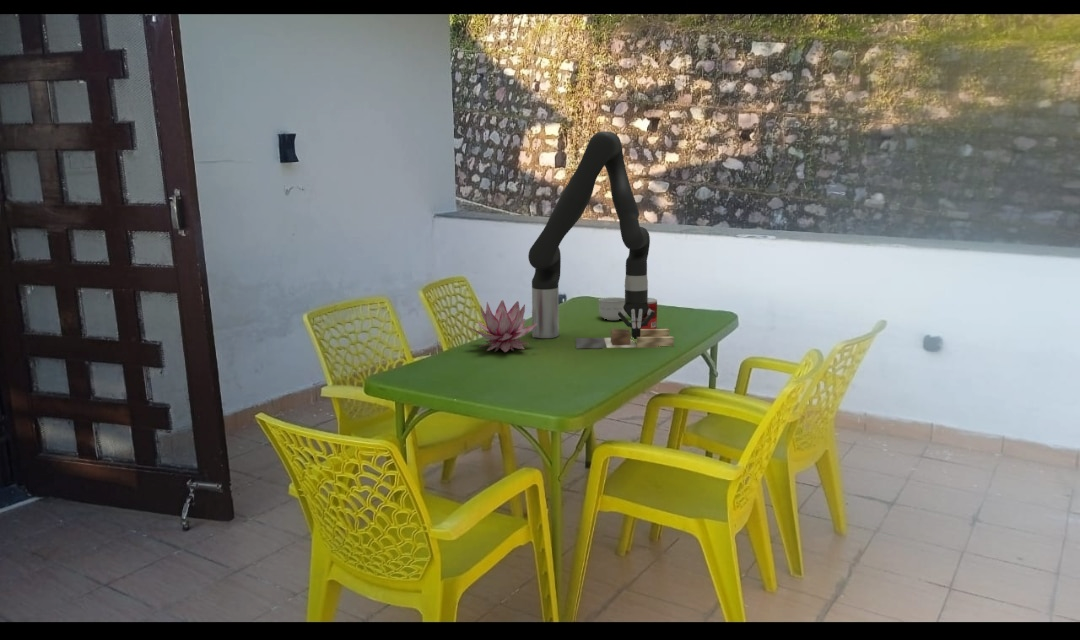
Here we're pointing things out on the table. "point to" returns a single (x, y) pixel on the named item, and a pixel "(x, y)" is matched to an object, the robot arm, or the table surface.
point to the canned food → (653, 322)
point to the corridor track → (645, 340)
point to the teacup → (611, 307)
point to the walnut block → (620, 336)
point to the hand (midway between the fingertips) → (636, 338)
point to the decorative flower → (504, 327)
